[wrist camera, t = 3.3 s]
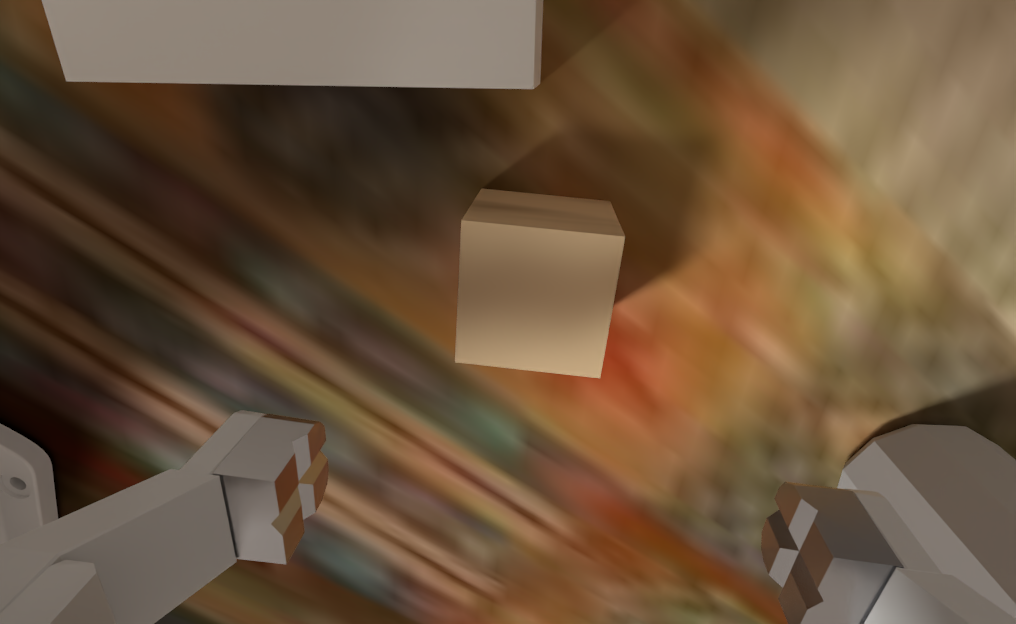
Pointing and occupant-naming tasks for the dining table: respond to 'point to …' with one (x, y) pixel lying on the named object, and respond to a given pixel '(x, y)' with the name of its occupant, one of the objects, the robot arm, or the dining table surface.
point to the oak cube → (537, 282)
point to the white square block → (301, 42)
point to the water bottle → (949, 500)
